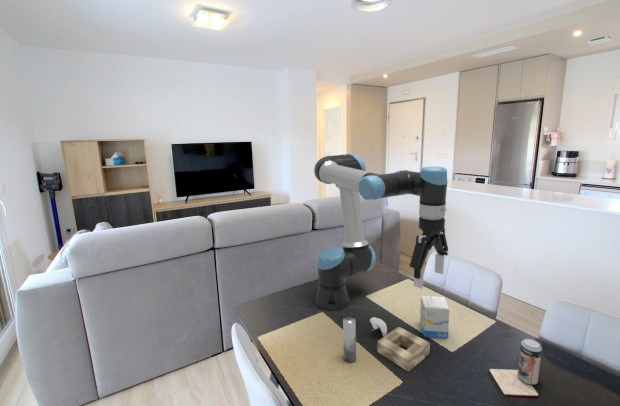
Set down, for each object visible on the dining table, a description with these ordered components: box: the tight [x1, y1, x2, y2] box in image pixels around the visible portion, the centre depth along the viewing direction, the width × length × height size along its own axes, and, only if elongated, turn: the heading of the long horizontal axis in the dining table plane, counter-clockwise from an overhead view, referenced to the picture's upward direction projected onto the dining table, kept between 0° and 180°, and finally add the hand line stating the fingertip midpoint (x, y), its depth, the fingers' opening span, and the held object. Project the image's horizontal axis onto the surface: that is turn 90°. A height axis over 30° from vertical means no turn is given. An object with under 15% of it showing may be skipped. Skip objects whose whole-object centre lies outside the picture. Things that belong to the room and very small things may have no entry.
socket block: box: [376, 326, 431, 373], centre depth 99 cm, size 12×12×4 cm
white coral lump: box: [369, 317, 388, 337], centre depth 111 cm, size 8×7×6 cm
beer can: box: [517, 338, 543, 385], centre depth 85 cm, size 5×5×12 cm
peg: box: [342, 316, 357, 364], centre depth 97 cm, size 4×4×14 cm
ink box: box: [419, 295, 450, 339], centre depth 109 cm, size 9×8×12 cm
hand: (429, 279), depth 97 cm, fingers open, 13 cm apart
